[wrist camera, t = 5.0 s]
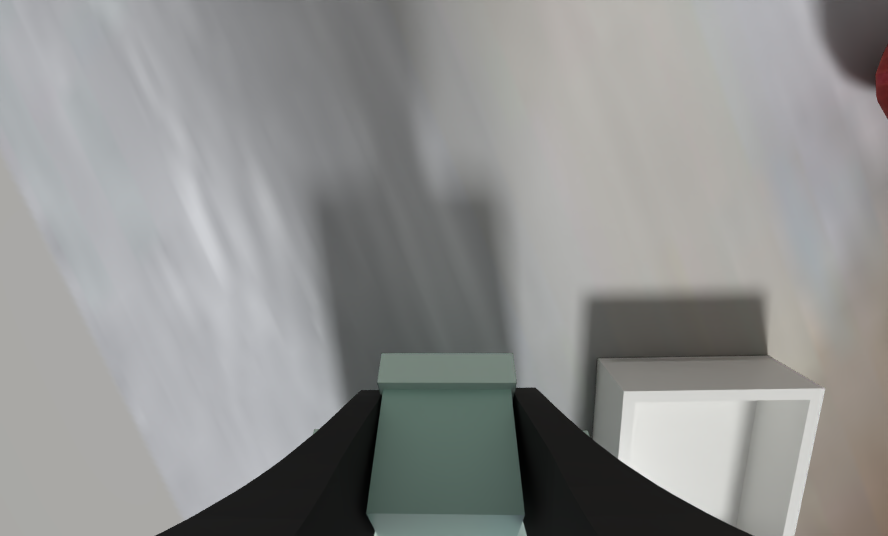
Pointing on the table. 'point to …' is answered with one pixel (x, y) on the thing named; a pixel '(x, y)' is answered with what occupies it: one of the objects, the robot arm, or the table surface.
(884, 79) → the onion
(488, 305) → the table surface
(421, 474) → the lid
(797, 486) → the tub
